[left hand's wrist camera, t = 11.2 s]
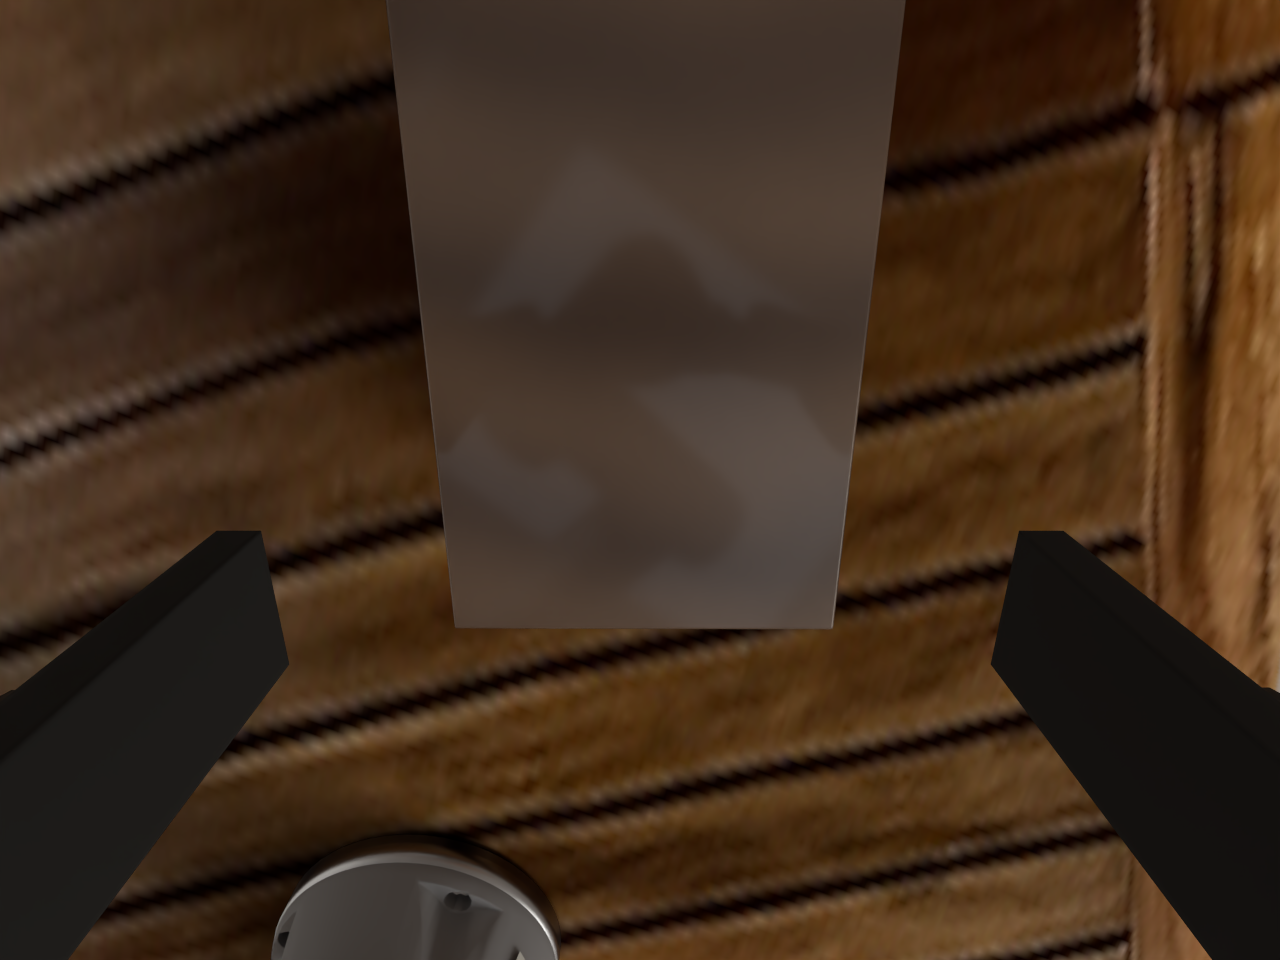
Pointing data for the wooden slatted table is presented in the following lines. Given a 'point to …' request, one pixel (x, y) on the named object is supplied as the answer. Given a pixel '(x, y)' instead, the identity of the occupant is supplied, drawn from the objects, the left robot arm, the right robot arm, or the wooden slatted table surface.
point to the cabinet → (644, 297)
